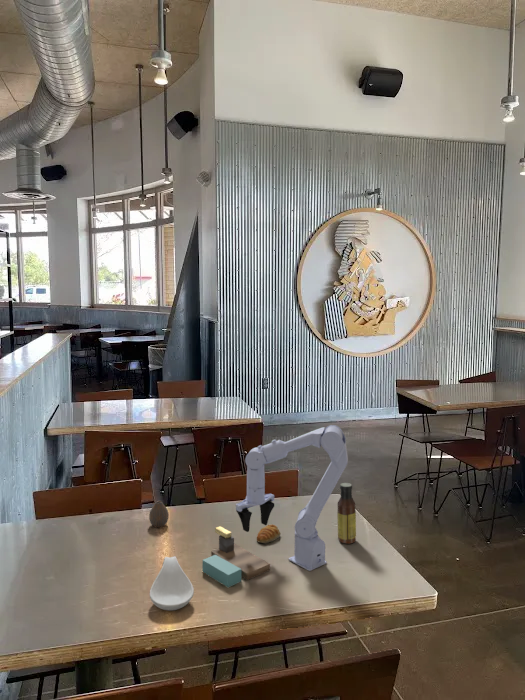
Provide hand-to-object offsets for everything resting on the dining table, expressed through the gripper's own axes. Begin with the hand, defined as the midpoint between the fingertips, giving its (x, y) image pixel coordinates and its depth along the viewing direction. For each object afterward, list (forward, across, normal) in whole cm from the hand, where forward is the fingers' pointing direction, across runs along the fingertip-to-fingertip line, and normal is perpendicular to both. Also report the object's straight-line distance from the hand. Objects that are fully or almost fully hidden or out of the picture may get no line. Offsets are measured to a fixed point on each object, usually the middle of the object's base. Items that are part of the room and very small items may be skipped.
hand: (255, 527), depth 167 cm
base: (+9, +7, +1) cm, 12 cm away
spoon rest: (+10, +32, +1) cm, 33 cm away
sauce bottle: (+10, -31, +12) cm, 35 cm away
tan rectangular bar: (+3, +7, -8) cm, 11 cm away
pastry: (+10, -12, -7) cm, 17 cm away
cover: (+10, +16, +3) cm, 19 cm away
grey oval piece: (+10, +12, -40) cm, 43 cm away
